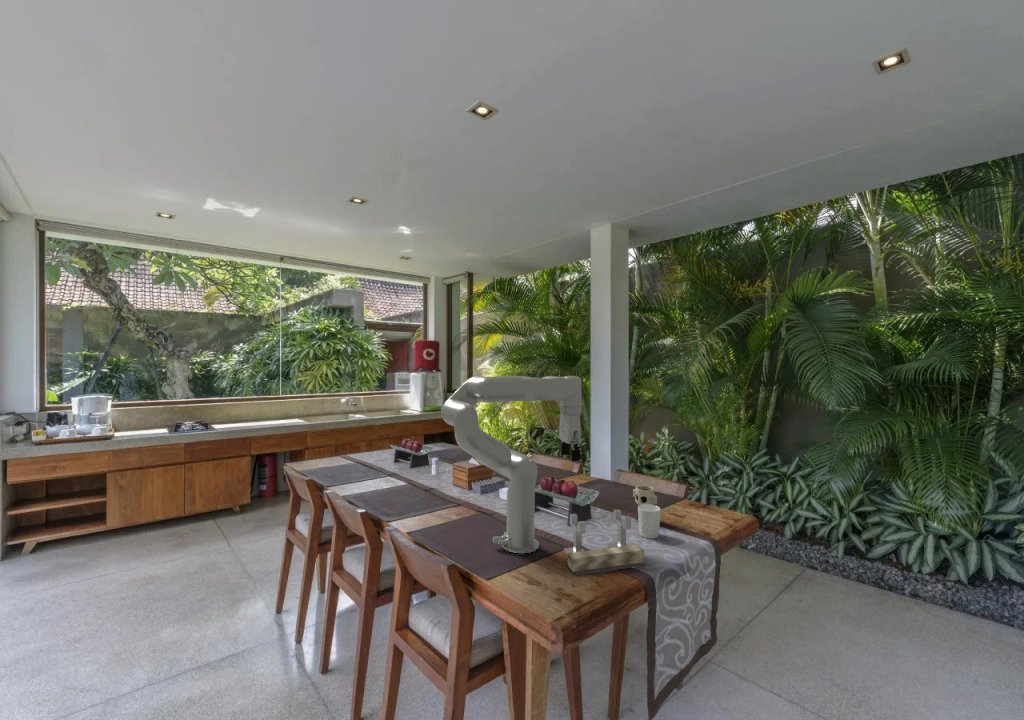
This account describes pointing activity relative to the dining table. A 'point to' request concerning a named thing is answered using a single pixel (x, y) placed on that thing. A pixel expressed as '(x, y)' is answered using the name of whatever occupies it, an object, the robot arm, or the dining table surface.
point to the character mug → (644, 495)
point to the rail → (605, 557)
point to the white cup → (649, 520)
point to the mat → (607, 569)
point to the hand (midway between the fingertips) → (570, 457)
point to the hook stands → (581, 529)
